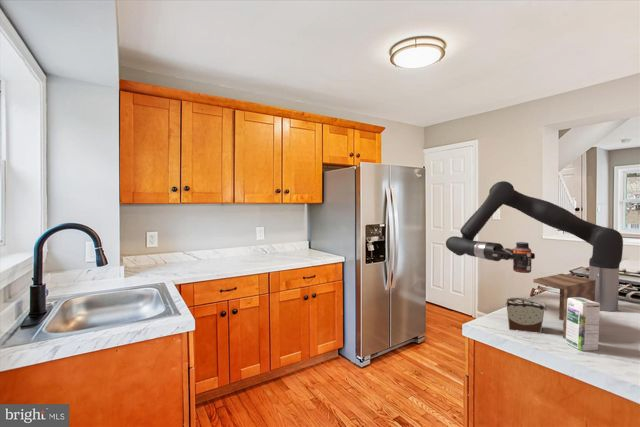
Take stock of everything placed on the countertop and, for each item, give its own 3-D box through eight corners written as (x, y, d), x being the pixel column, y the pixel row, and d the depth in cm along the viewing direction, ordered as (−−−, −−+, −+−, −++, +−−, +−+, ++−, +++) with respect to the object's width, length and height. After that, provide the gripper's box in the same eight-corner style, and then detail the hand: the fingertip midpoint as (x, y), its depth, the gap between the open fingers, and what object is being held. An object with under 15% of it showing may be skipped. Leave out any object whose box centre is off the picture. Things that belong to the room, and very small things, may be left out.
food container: (540, 326, 112) (540, 299, 112) (546, 333, 106) (546, 304, 106) (500, 322, 116) (501, 295, 116) (504, 329, 110) (505, 301, 110)
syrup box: (564, 342, 100) (565, 297, 99) (581, 341, 100) (583, 296, 99) (581, 351, 94) (582, 303, 93) (599, 350, 94) (600, 302, 94)
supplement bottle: (534, 273, 119) (534, 243, 118) (516, 273, 120) (517, 243, 120) (527, 270, 125) (527, 241, 124) (510, 269, 126) (510, 241, 125)
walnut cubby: (560, 318, 119) (561, 273, 118) (594, 328, 110) (595, 279, 109) (532, 327, 112) (533, 279, 111) (565, 338, 102) (567, 286, 102)
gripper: (477, 243, 132) (517, 249, 117) (499, 240, 138) (540, 245, 123) (477, 261, 132) (517, 269, 117) (499, 257, 138) (540, 264, 123)
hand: (528, 257), depth 120 cm, fingers closed on supplement bottle, 6 cm apart
